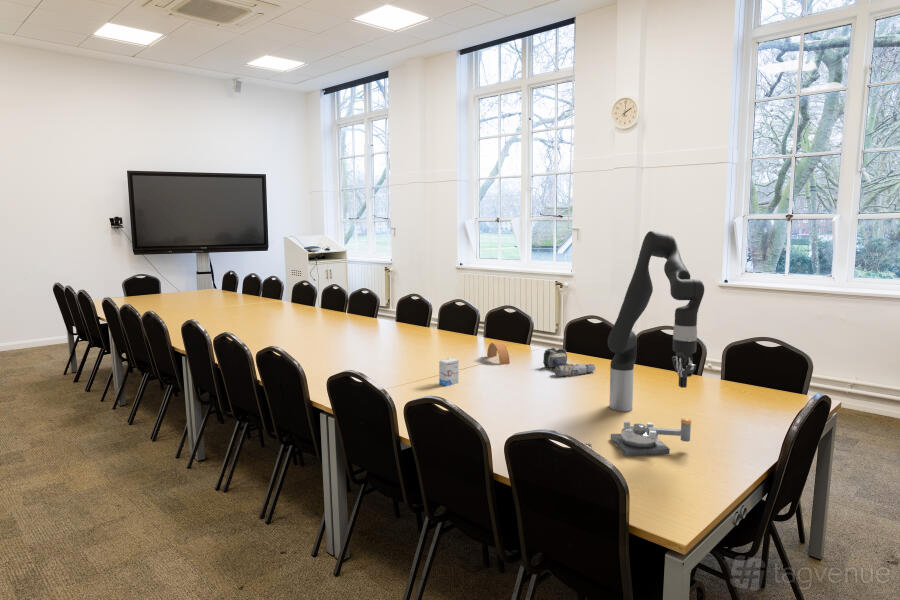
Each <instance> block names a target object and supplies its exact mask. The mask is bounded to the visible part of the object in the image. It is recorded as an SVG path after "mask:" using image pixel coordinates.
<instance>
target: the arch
mask: <svg viewBox="0 0 900 600" xmlns="http://www.w3.org/2000/svg"><path fill="white" fill-rule="evenodd" d="M486 353H487V356H486V357H488V358H491V357H497V355H498V361H499V365H500V366H501V365H510V363H511V362H510V361H511V360H510V355H509V349H508V348H507V345H506V344H505V342H502V341H500V342H497V341H496V342H491V343H489V345H488V348H487V352H486Z"/></svg>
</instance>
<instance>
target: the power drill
mask: <svg viewBox="0 0 900 600" xmlns="http://www.w3.org/2000/svg"><path fill="white" fill-rule="evenodd" d="M542 361H543V363H542V364H543V365H544V368H548V367H549V368H551V369H552V368H554V370H553V371H554V375H555V376H557V377H558V378H559V377H574V376H577V375H578V376H579V375H584V374H586V373H593V372H594V371H596V365H595V364H592V363H589V364H585V363H581V364H580V363H576V364H573V363H567V362H568V354H567V350H566V348H559V349H556V348H555V347H551V348H546V350H544V352H543V360H542Z"/></svg>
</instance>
